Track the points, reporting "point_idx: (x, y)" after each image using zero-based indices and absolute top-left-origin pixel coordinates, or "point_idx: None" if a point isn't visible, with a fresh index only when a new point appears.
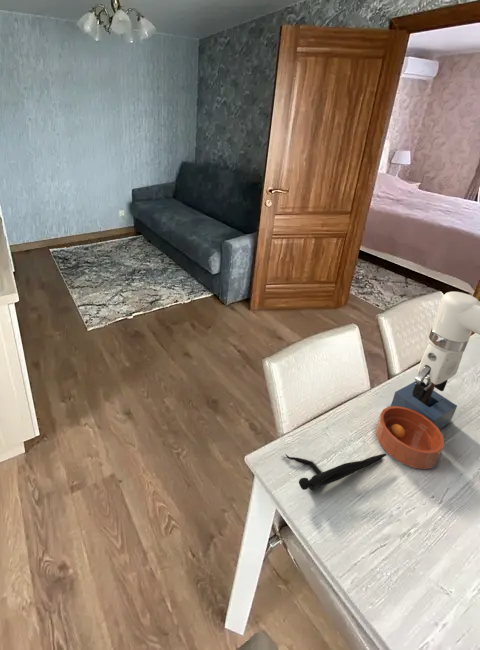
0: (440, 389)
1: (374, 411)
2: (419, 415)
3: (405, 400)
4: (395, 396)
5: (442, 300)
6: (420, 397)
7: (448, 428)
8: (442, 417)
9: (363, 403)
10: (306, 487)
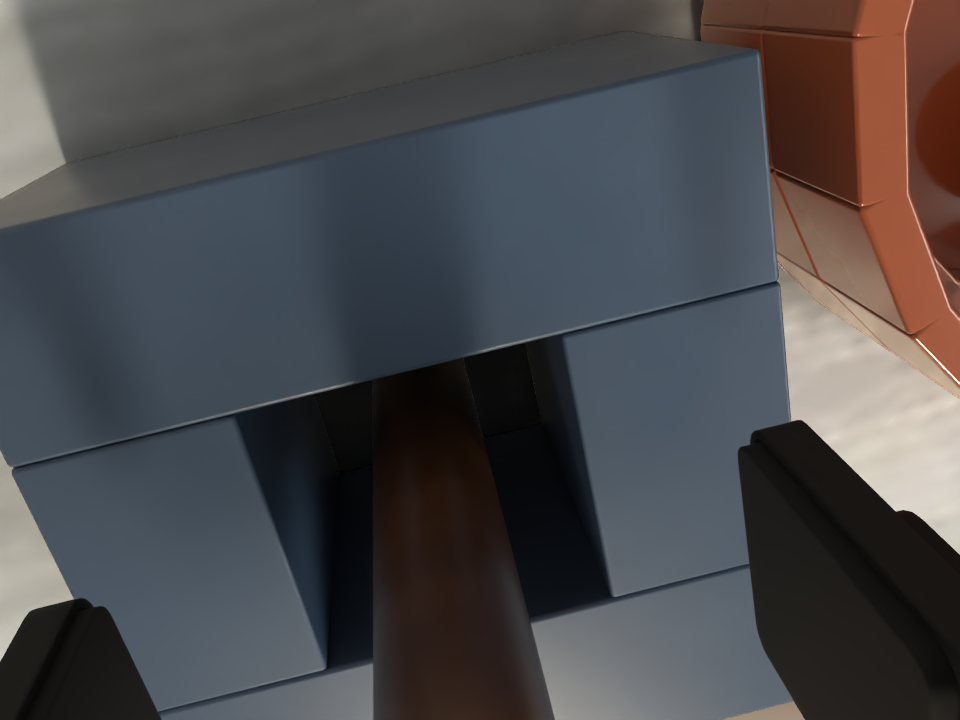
0: (101, 646)
1: (912, 489)
2: (914, 217)
3: None
4: None
5: None
6: (903, 515)
7: (195, 76)
8: (422, 116)
9: None
10: None
